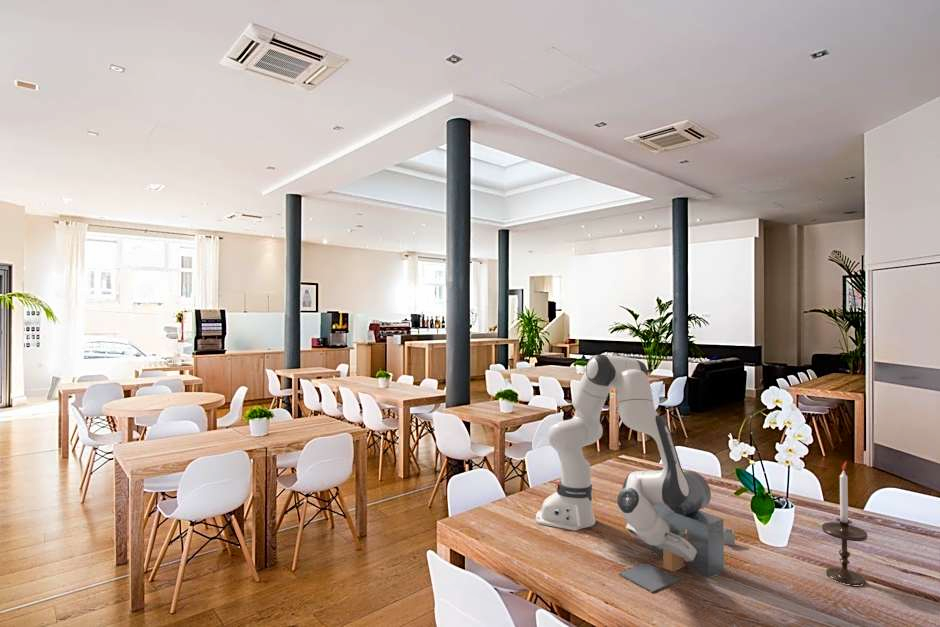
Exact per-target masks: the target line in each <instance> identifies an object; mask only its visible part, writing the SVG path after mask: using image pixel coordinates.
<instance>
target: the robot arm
mask: <svg viewBox="0 0 940 627" xmlns="http://www.w3.org/2000/svg"><path fill="white" fill-rule="evenodd" d="M648 375H649V374H648V368H647V366H646V364H645V363H644V362H642V361H641V360H638V359H637V358H636V359H635V358H629V357H626V356H621V355H605V354H595V355H592V356H591V357H590V358H589V359H588V361H587V363H586V366H585V371H584V372H583V375H582V377H581V379H580V381H579V383H578V386H577V388H576V391H575V394H574V396H573V399H572V406H573V408H574V409H575V412H574V415H573V416H572V418H570V419H565V420H561V421H559V422H556V423H555V424H552V425H551V426H550V427H549V429H548V431H547V440H548V443H549V445H550V446H551V448H553V450H555V451H556V453H557V455H558V458H559V462H560V475H561V478H560V479H558V480H557V481H555V491H554V493H552V494H550V495H549V496H547V497H546V498H545V499H544V500H543V503H542V505H541V509H540V510H538V511H537V513H536V514H535V522H536V523H537V524H539V525H544V526H550V527H555V528H560V529H565V530H569V531H579V530H581V529H586V528H590V527H593V526H594V525H596V519H595V514H594V510H593V504H592V502H593V486H592V483H591V482H592V478H591V476H592V474H591V473H592V469H591V468H592V467H591V466H592V465H591V463H590V462H589V460H587V459H586V458H585V456H584V454H583V447H586V446H590V445H592V444H595V443H596V442H598V441H599V440H600V439H601V438H602V437H603V432H604V431H603V430H604V429H603V426H602V424H601V422H600V420H601V413H602V410H603V407H604V405H605V404H606V401H607V398H608V397H609V393H610V390H611V388H613V389H615V390H616V393H617V405H618V414H619V418H620V420H621V421H622V423H623V424H624V425H625V426H626V427H628V428H630V429H631V430H633V431H636V432H639V433H643V434H646V435H649V436H650V437H651V438H653V440H654V441H655V443H656V444H657V445H656V446H657V448H658V452H659V455H660V460H661V462H662V466H663V468H662V469H661V470H637V471H631V472H630V473H628V475H627V476H626V478H625V479H624V482H623V484H622V490H620V492H619V493H618V495H617V498H616V505H617V507H618V510H619V512H620V514H621V516H622V517H623V519H624V520H625V521H626V523H627V524H626V526H625V529H626V530H627V531H628V532H630V534H632V535H634V536H635V537H636V538H638V539H639V540H642V541H644V543H645V544H647V545H650V546H652V545H654V546H655V547H656V548H658V549H660V550H661V549H664V550H666V551H668V552H671V553H673V554H675V555H677V556H680V557H681V558H682V559H683V560H685V561H687V562H688V561H693V559H694V558H695V556H696V553H697V551H696V549H695V548H694V547H693V546H692V545H691V544H690V543H689V542H688V541H687V540H686V539H684V538H683V537H681V536H678V535H676V534H673V533H671V532H669V526H668V524H667V522H666V521H665V520H664V519H663V518H662V516H661V515H660V514H659V513H658V512H657V511H656V510H655V509H654V504H666V505H675V506H679V505H681V504H682V503H683V502H684V501H685V500H686V499H687V497H688V496H689V486H688V483H687V480H686V477H685V475H684V473H683V472H684V470H683V469H682V465H681V462H680V458H679V455H678V452H677V449H676V445H675V441H674V438H673V436H672V432H671V430H670V427H669V425H668V422H667V420H666V419H665V418H664V417H663V416H660V415H659V413H658V412H657V410H656V407H655V404H654V398H653V397H654V396H653V390H652V387H651V383H650V380H649V377H648Z"/></svg>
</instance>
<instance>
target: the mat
mask: <svg viewBox="0 0 940 627" xmlns="http://www.w3.org/2000/svg"><path fill="white" fill-rule="evenodd" d="M618 576H620V577H622V578H624V579H626V580H628V581H629V580H630V582H631V583H633V584H634V585H637V584H638V585H640V586H642V587H644V588H645V589H644V588H643V589H644V590H646V589H647V590H646V591H648V590H649V591H648V592H650V591H651V592H654V591H656V590H658V591H660V590H662V589H664V587H665V588H666V586H667V587H669V586H671V585H673V584H675V583H677V582H680V579H679V578H678V577H675V576H673V575H671V574H669V573H667V572H665V571H663V570H661V569H659V568H656V567H655V566H653V565H651V564H649V563H646V562H644V563H641V564H639V565H636V566H634V567H631V568H629V569H627V570H624V571H621V572H620V573H618ZM638 585H637V586H638ZM668 585H669V586H668ZM640 586H639V587H640ZM642 587H641V588H642ZM661 588H662V589H661ZM659 589H660V590H659ZM651 592H650V593H651ZM656 592H657V591H656ZM654 593H655V592H654Z"/></svg>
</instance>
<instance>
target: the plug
mask: <svg viewBox="0 0 940 627" xmlns="http://www.w3.org/2000/svg"><path fill="white" fill-rule="evenodd" d="M681 537H683V538H684V539H686V540H687V532H686V534H683V535H681ZM662 558H663V559H662V560H663V564H662V565H663V567H664V568H663V569H665V568H666V569H665V570H667V569H668V570H667V571H669V570H670V571H669V572H671V571H673V572H675V571H677V570H679V569H678V568H680V569H682V568H684V567H686V566H687V561H685V560H683V559H682V558H681V557H680V556H677V555H675V554H673V553H671V552H668V551H666V550H664V549H663V557H662ZM685 565H686V566H685ZM683 566H684V567H683ZM681 567H682V568H681ZM676 569H677V570H676ZM674 570H675V571H674Z"/></svg>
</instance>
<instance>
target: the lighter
mask: <svg viewBox="0 0 940 627" xmlns="http://www.w3.org/2000/svg"><path fill="white" fill-rule="evenodd" d="M723 535H724V545H726V546H733V547H735V546H736V533H735V531H734V530H733V529H732V528H730V527H723Z"/></svg>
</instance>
